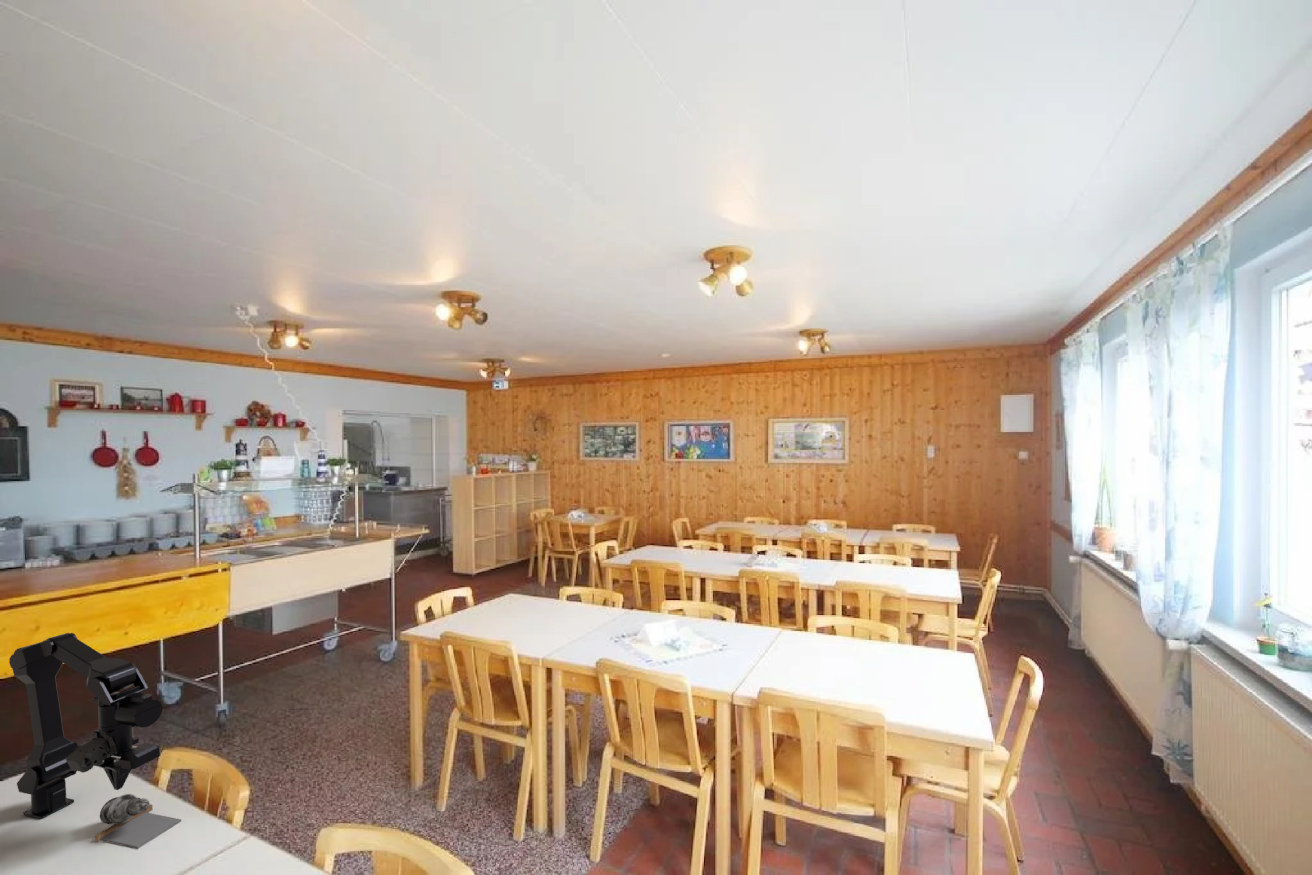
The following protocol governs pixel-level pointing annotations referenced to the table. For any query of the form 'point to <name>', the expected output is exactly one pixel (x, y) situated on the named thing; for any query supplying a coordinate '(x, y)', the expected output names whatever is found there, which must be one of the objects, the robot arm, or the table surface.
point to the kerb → (118, 825)
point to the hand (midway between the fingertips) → (118, 788)
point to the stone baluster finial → (122, 809)
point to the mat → (141, 830)
